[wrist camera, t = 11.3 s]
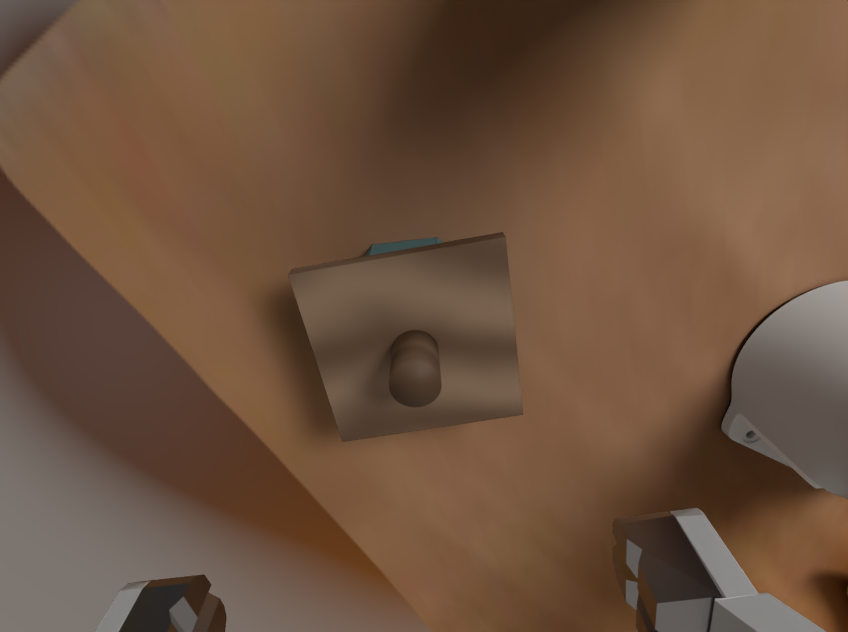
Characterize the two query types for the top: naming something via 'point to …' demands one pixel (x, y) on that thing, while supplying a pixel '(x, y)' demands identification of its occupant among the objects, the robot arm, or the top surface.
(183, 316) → the top surface
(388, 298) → the lid
